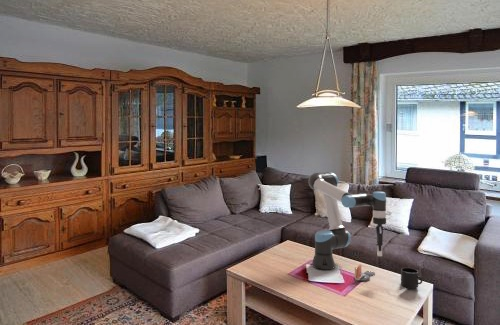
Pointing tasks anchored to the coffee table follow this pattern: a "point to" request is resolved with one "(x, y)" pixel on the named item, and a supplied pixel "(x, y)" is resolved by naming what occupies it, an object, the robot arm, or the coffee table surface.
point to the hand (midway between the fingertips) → (379, 255)
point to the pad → (369, 273)
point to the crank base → (362, 278)
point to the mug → (410, 278)
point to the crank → (359, 274)
